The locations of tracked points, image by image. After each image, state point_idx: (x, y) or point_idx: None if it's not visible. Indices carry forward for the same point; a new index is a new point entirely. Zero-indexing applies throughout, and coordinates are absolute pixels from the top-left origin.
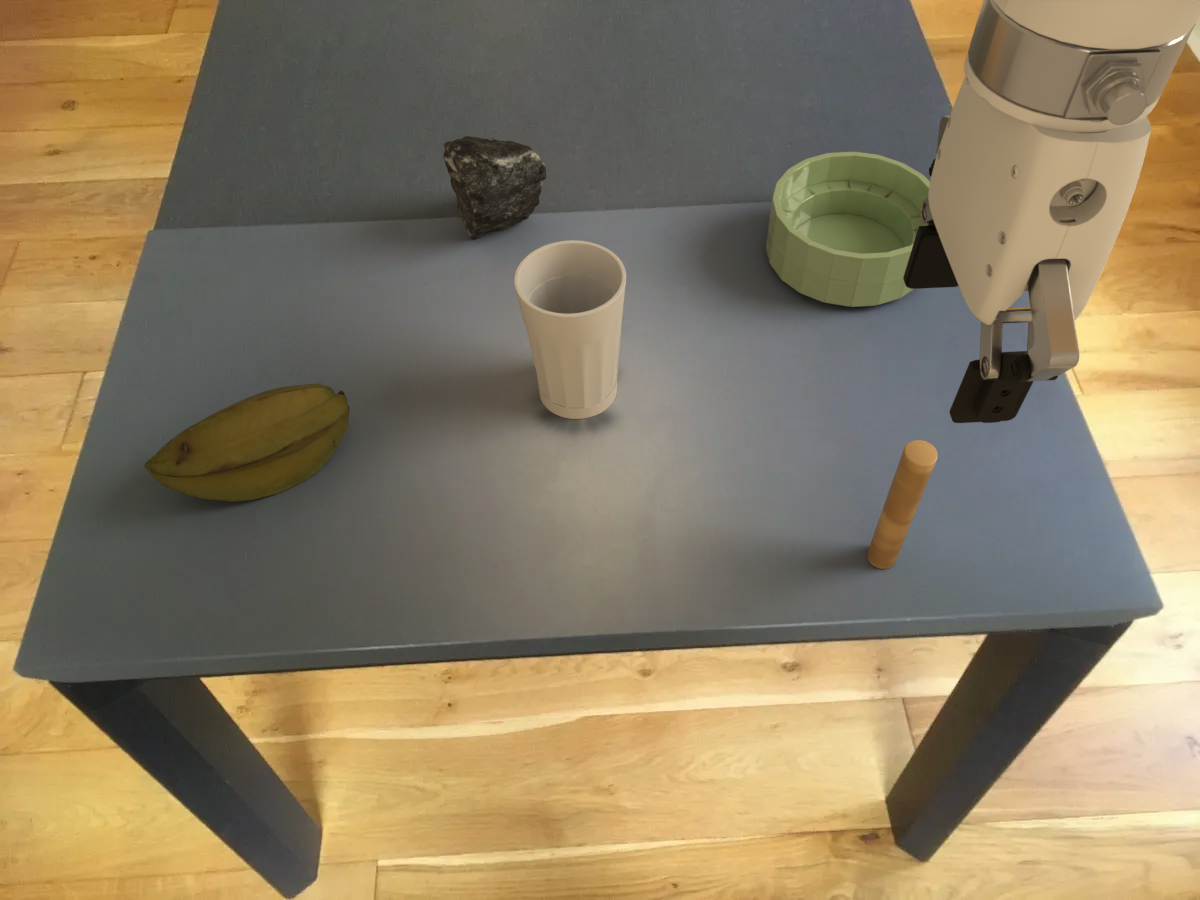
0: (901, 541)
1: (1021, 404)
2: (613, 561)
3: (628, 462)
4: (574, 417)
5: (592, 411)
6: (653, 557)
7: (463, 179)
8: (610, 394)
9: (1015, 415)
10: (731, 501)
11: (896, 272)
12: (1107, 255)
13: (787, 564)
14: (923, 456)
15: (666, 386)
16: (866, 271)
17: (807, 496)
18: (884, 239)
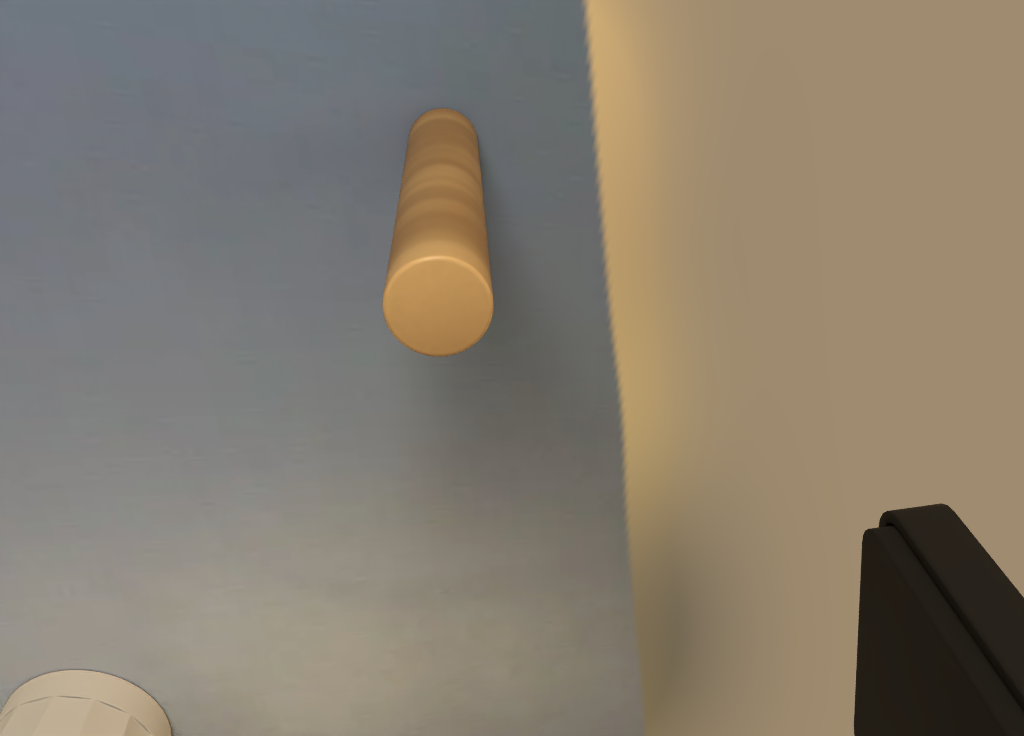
0: (472, 151)
1: (1000, 571)
2: (498, 635)
3: (261, 633)
4: (169, 731)
5: (151, 713)
6: (484, 576)
7: None
8: (104, 701)
9: (948, 511)
10: (328, 452)
11: None
12: None
13: (480, 344)
14: (454, 302)
15: (28, 586)
16: None
17: (288, 300)
18: None
